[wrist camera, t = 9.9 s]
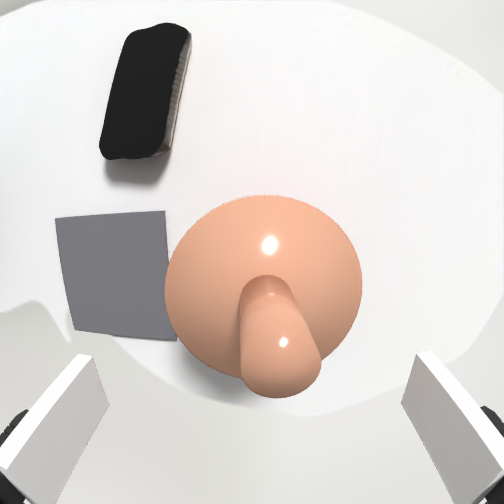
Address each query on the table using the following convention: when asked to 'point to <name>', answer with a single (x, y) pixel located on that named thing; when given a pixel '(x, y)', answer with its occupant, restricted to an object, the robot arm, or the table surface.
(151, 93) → the black sponge
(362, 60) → the table surface
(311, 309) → the lid
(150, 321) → the mat
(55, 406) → the robot arm
